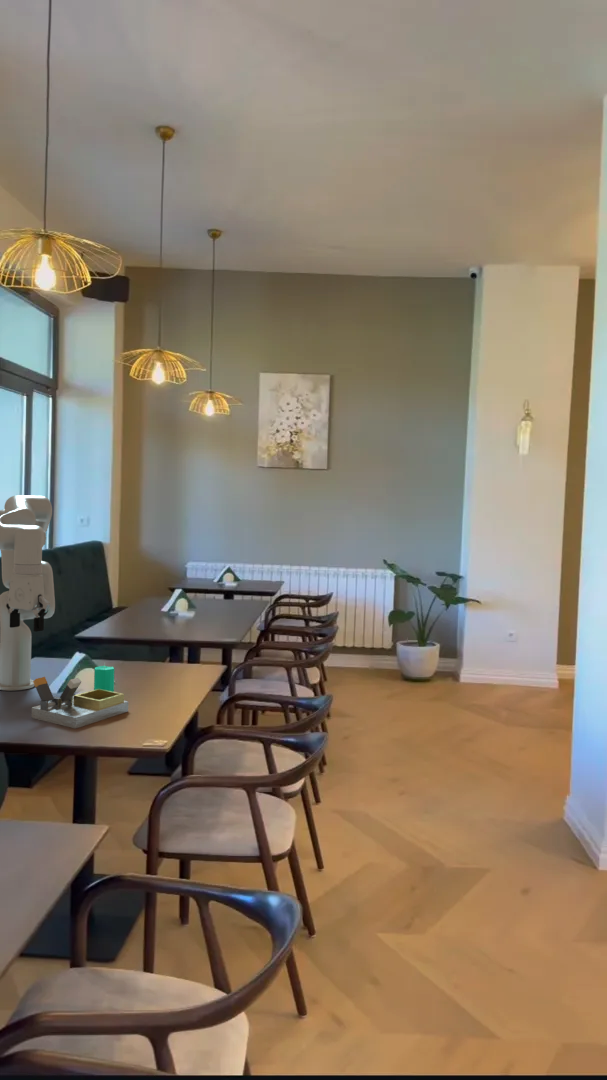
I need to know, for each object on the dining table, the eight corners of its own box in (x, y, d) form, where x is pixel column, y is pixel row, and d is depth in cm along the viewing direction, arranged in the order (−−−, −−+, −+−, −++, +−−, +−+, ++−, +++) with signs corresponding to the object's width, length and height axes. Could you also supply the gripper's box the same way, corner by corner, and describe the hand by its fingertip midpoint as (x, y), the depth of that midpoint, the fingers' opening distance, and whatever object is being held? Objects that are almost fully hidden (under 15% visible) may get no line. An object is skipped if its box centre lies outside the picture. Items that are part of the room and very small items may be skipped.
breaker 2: (56, 701, 219) (70, 679, 216) (64, 699, 222) (78, 677, 219) (60, 705, 218) (73, 683, 216) (68, 703, 221) (81, 681, 218)
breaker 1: (44, 709, 214) (32, 681, 216) (53, 706, 217) (41, 679, 219) (48, 706, 214) (36, 678, 216) (56, 704, 216) (44, 676, 218)
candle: (108, 704, 232) (109, 665, 232) (90, 702, 234) (91, 664, 233) (116, 699, 238) (118, 661, 238) (99, 697, 239) (100, 660, 239)
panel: (31, 717, 216) (32, 698, 215) (85, 702, 234) (86, 684, 234) (75, 728, 208) (75, 708, 207) (128, 711, 226) (128, 693, 226)
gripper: (-4, 568, 220) (-5, 627, 221) (39, 573, 212) (37, 634, 213) (17, 566, 226) (15, 624, 227) (59, 571, 218) (58, 630, 219)
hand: (26, 628), depth 220 cm, fingers open, 9 cm apart
